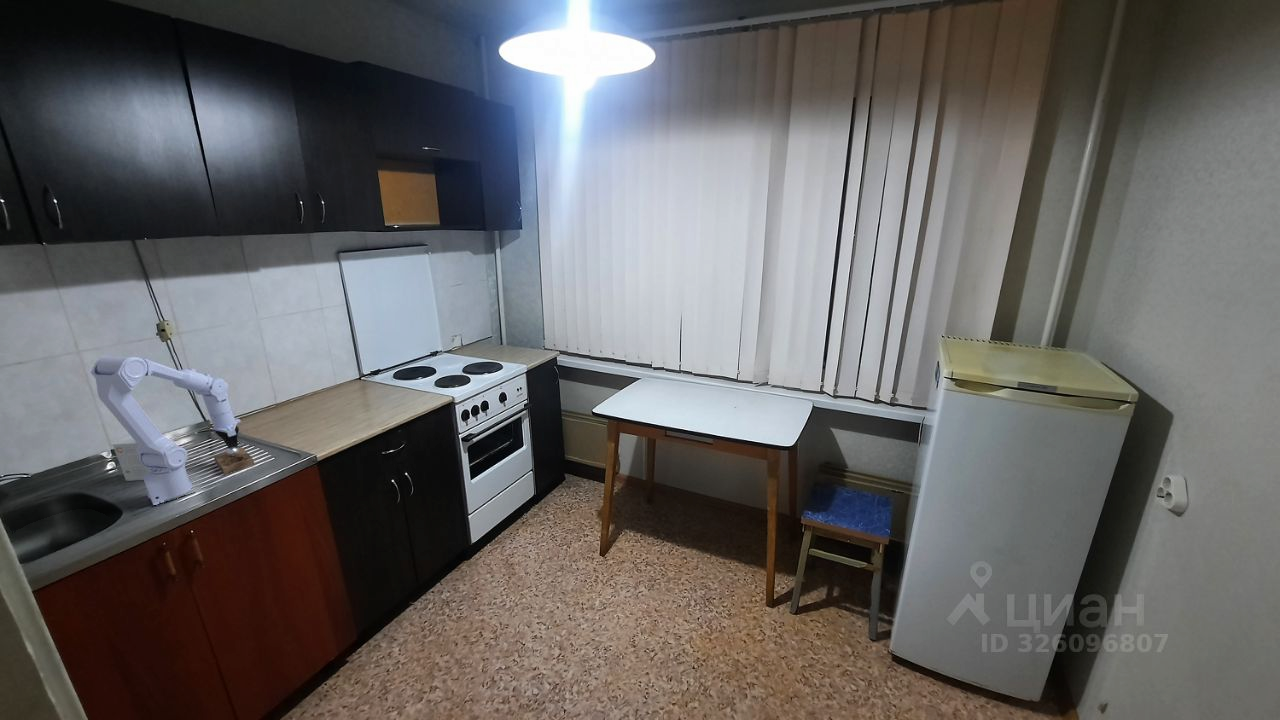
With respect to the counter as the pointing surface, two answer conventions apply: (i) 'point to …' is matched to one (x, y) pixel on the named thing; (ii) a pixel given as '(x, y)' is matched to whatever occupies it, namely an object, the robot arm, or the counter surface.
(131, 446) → the small box
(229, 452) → the steel ball
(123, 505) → the counter surface
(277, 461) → the counter surface
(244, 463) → the hole plate
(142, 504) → the counter surface
